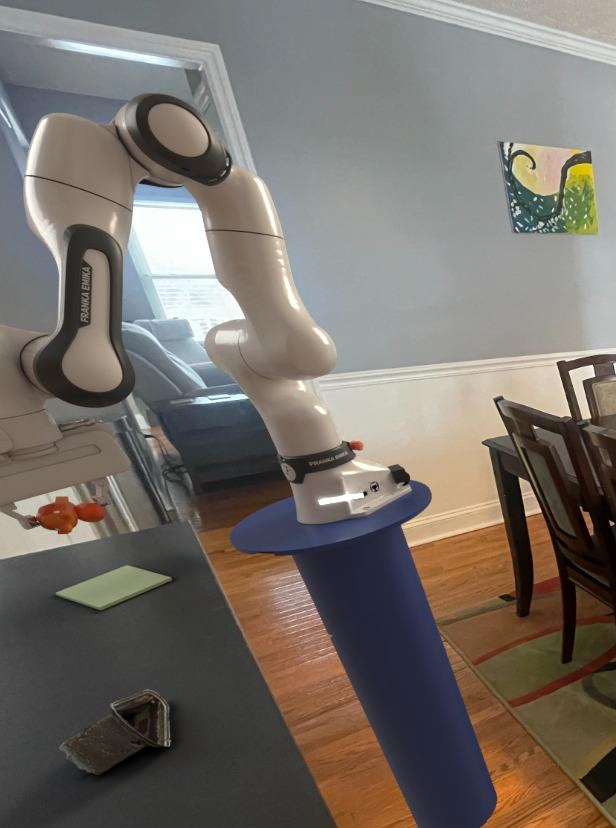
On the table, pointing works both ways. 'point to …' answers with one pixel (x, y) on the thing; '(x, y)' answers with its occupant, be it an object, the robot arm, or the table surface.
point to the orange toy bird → (68, 514)
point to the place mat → (113, 587)
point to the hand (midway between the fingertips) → (69, 516)
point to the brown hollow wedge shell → (121, 733)
